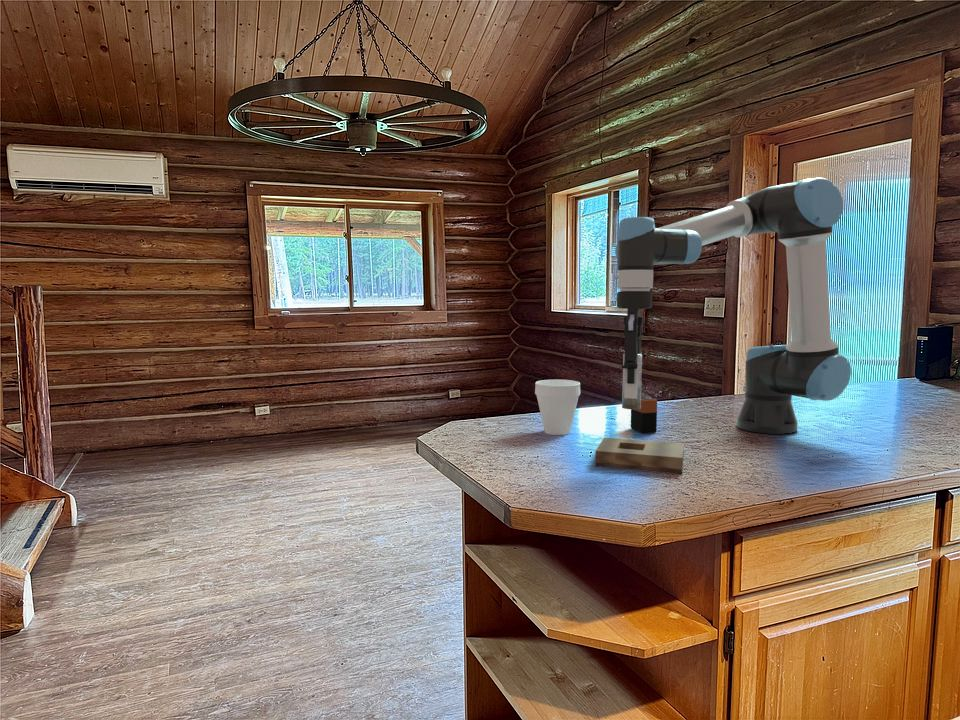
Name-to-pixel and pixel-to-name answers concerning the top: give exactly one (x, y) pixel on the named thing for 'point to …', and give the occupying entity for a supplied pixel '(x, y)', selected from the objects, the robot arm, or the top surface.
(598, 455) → the bore block
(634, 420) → the battery
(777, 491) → the top surface
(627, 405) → the pin
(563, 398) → the cup
